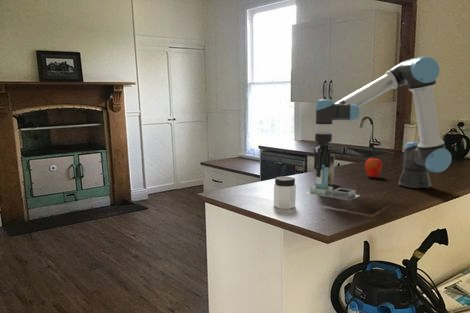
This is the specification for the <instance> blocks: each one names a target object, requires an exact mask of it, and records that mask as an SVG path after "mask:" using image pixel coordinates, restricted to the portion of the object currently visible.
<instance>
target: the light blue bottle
mask: <svg viewBox="0 0 470 313" xmlns="http://www.w3.org/2000/svg"><path fill="white" fill-rule="evenodd" d="M322 170H323V174H322V184H317V183H316V185H315V186H316V188H321V189H326V188H327V186H329V184H328V167H325V165H322Z"/></svg>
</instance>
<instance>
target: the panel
mask: <svg viewBox="0 0 470 313" xmlns="http://www.w3.org/2000/svg"><path fill="white" fill-rule="evenodd" d="M333 188H334V186H331V185H328V186H327V188H326V189H321V188H316V185H313V186H310V187H309V191H306V192H305V194H306V195H307V194H308V195H314V196H320V197H325V198H326V197H327V198H332V199H338V200H342V201H352V200H355V199H357V198H359V197H360V196H361V195H360V194H356V193H357V192H356V190H354V189H351V188H350V189H349V188H348V189H347V188H342V187H338V188H336V189H334V190H333Z"/></svg>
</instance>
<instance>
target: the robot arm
mask: <svg viewBox="0 0 470 313" xmlns="http://www.w3.org/2000/svg"><path fill="white" fill-rule="evenodd" d="M439 75H440V65H439V63H438V61H437V60H436V59H434V58H433V57H430V56H419V57H415V58H410V59H409V58H408V59H406V60H404V61H402V62H399V63H398V64H396V65H395V66H393V67H391V68H390V69H388V70H387V71H385V72H384V74H383V75H382V76H381V77H378V78H377V79H375V80H374V81H371V82H369V83H367V84H365V85H364V86H363V87H361V88H359V89H357V90H355V91H354V92H352V93H350V94H349V95H347V96H345V97H343V98H342V99H340V100H338V101H336V102H334V100H333V99H317V101H316V106H315V125H314V128H315V134H314V141H315V142H316V143H317V146H316V147H314V148H313V151H314V154H313V155H314V158H313V159H314V160H313V169H314V170H315V182H316V183H317V184H322V174H323V170H322V163H323V165H325V167H328V168H330V167H329V166H330V161H331V154H332V145H330V143H331V142H332V139H333V138H332V137H333V135H332V133H333V121H357V120H358V118H359V116H360V107H361V106H363V105H365V104H367V103H368V102H370V101H372V100H373V99H376V98H377V97H379V96H380V95H383V94H384V93H386V92H388V91H389V90H392V89H393V90H396V89H397V88H400V87H403V86H405V85H406V86H408V87H407V88H408V89H407V90H409V91H410V92H411V93H412V96H413V103H414V111H415V116H416V123H417V130H418V137H419V141H417V142H416V141H415V142H412V141H411V142H406V143H405V144H404V149H403V150H404V151H403V152H404V153H403V154H404V155H403V165H402V166H403V169H402V173H401V175H400V177H399V180H398V186H399V185H402V186H405V187H412V188H426V187H430V186H431V187H432V183H431V179H430V175H429V172H431V173H442V172H444V171H446V170H447V169H448V168H449V166H451V163H452V159H453V157H452V154H451V152H450V151H449V150H448V149H447V148H446V144H445V141H444V140H443V139H441V135H440V134H441V133H440V128H439V121H438V114H437V107H436V100H435V94H434V87H436V85H437V82H436V79H437V78H438V77H439ZM316 170H317V171H316ZM405 187H404V188H405Z"/></svg>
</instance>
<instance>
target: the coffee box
mask: <svg viewBox="0 0 470 313" xmlns="http://www.w3.org/2000/svg"><path fill="white" fill-rule="evenodd" d="M335 158H336V155H335V154H332V153H331V161H330V166H329V167H330V168H328V185H330V186H331V185H334V182H335V181H334V179H335V162H336V161H335ZM322 165H323V163H322ZM316 171H317V170H315V172H316ZM314 186H316V181H315V184H314Z"/></svg>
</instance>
